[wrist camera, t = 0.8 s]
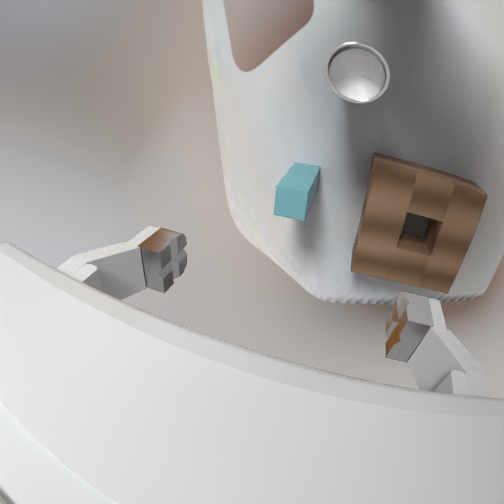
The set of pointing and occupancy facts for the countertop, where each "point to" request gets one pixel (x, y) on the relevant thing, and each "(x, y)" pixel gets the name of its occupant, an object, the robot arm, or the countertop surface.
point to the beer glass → (357, 72)
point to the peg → (296, 191)
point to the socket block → (420, 203)
